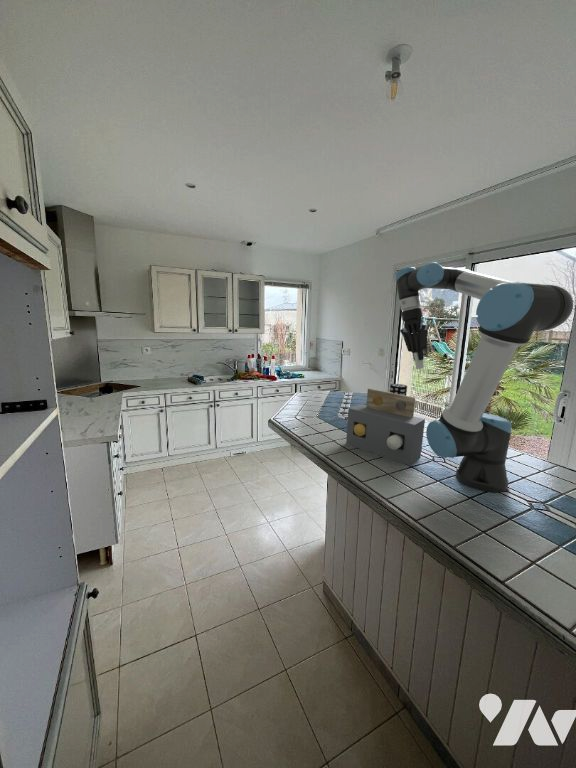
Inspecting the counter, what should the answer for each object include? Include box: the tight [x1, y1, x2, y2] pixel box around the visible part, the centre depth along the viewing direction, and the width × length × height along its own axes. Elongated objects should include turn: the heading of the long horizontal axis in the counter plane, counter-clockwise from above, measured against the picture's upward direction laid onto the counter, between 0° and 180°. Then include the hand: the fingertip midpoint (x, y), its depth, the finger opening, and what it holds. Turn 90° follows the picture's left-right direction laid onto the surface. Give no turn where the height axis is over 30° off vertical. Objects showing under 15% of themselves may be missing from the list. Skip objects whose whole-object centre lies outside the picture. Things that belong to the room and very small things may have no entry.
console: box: [345, 403, 426, 467], centre depth 127 cm, size 10×28×16 cm, turn 46°
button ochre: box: [354, 423, 367, 436], centre depth 130 cm, size 4×5×5 cm
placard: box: [365, 388, 416, 418], centre depth 127 cm, size 1×20×8 cm, turn 46°
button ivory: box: [387, 434, 404, 450], centre depth 117 cm, size 4×5×5 cm
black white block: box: [389, 383, 408, 396], centre depth 163 cm, size 8×8×20 cm
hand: (420, 368), depth 124 cm, fingers closed
